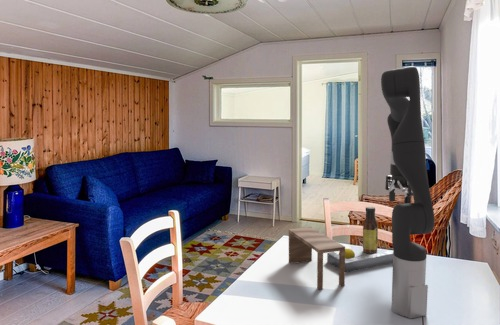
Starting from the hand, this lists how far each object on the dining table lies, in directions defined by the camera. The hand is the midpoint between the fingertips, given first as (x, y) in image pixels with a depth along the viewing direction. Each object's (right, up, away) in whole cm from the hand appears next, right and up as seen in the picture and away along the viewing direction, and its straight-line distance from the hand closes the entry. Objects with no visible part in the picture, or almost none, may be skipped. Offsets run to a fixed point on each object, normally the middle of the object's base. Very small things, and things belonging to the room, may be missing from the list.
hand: (399, 203), depth 148 cm
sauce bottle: (-6, -23, +17) cm, 29 cm away
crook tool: (-12, -25, +6) cm, 28 cm away
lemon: (-24, -22, +3) cm, 32 cm away
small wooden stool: (-35, -26, -6) cm, 44 cm away
